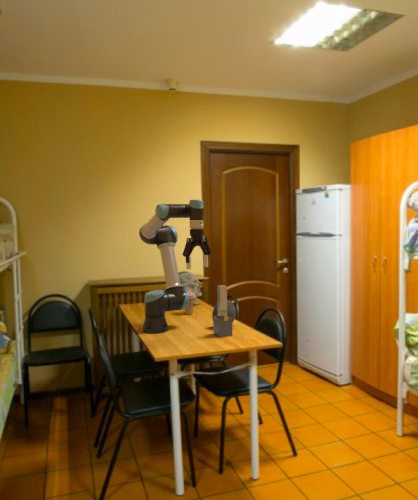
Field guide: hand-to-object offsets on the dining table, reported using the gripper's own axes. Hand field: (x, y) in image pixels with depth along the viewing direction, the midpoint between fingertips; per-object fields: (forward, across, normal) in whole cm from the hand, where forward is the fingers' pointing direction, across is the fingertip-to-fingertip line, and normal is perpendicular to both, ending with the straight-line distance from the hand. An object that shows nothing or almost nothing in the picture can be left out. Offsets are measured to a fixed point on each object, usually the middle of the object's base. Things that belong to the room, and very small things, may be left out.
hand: (197, 268), depth 241 cm
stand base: (+38, +11, -8) cm, 41 cm away
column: (+30, +11, -8) cm, 33 cm away
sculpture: (+39, +69, +78) cm, 111 cm away
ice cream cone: (+39, +44, +50) cm, 77 cm away
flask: (+39, +26, +4) cm, 47 cm away
